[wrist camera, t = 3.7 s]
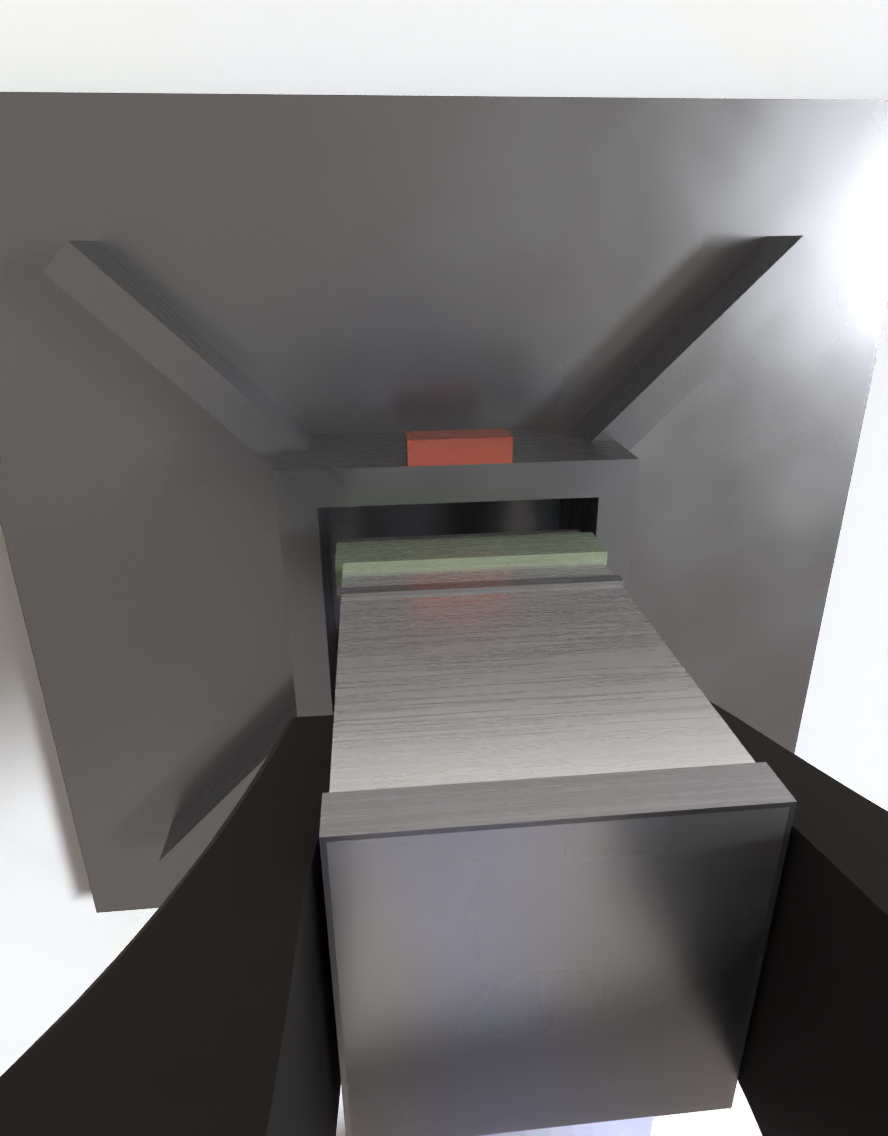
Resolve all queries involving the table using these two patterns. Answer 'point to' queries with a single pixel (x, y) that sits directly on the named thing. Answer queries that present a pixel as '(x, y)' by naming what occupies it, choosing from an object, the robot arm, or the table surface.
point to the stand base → (409, 396)
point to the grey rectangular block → (532, 847)
